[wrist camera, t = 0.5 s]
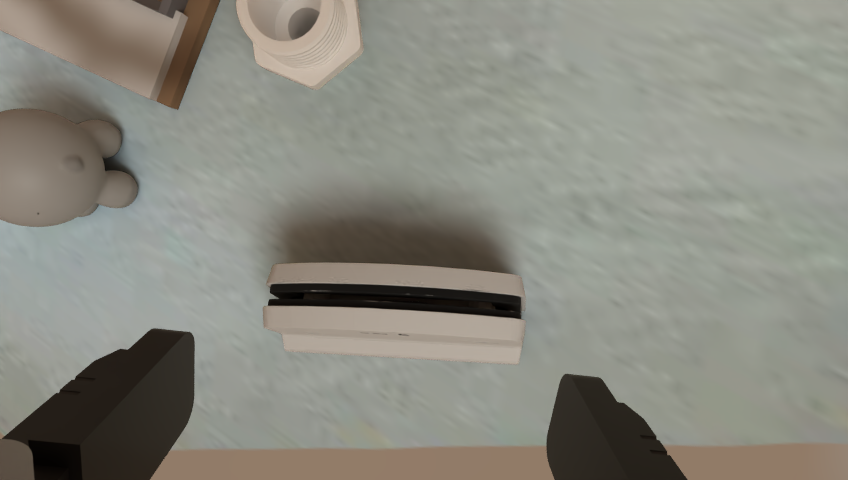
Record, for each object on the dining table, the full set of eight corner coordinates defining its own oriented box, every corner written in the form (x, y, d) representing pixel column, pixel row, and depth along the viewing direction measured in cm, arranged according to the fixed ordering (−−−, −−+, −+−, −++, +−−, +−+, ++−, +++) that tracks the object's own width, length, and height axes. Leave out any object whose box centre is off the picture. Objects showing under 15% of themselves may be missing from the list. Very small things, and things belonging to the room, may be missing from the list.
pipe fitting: (288, 108, 34) (235, 81, 26) (272, 1, 34) (214, -59, 26) (378, 94, 34) (353, 63, 26) (364, -14, 33) (334, -80, 25)
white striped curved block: (287, 351, 36) (225, 344, 26) (295, 286, 37) (239, 256, 27) (521, 365, 35) (548, 362, 25) (522, 297, 36) (547, 270, 26)
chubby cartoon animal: (-23, 146, 36) (-172, 130, 28) (129, 112, 35) (24, 85, 27) (2, 242, 37) (-136, 256, 28) (153, 212, 36) (57, 217, 27)
